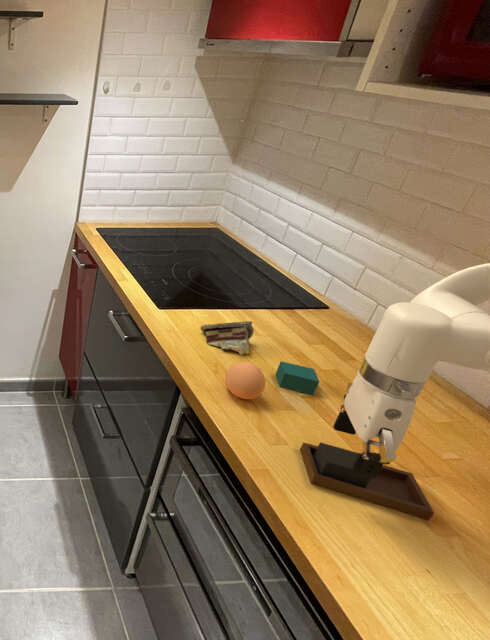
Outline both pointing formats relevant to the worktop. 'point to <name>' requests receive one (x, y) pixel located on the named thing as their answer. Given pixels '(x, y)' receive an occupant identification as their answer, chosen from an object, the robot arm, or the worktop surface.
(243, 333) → the chocolate cake
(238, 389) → the egg
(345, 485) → the backing tray
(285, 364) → the teal block
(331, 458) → the black rectangular block
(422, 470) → the worktop surface
